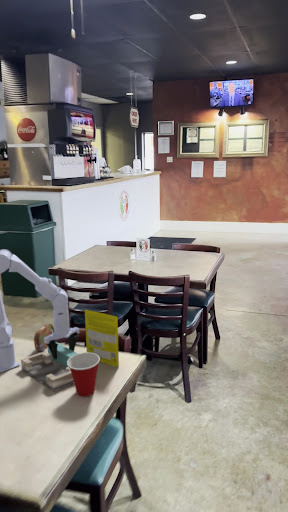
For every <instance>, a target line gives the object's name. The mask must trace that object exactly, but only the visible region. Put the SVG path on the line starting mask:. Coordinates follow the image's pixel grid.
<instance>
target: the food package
mask: <svg viewBox="0 0 288 512" xmlns="http://www.w3.org/2000/svg"><path fill="white" fill-rule="evenodd" d="M84 318H85V320H84V321H85V322H84V323H85V341H86V343H85V344H86V347H85V348H86V353H95V354H97V355H98V356H99V357H100V361H99V363H103V364H107V365H109V366H113V367H117V368H120V364H119V363H120V361H119V358H120V357H119V324H118V322H119V321H118V320H119V318H118V316H115V315H111V314H107V313H104V312H103V313H102V312H98V311H93V310H88V309H84Z"/></svg>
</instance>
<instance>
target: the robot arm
mask: <svg viewBox="0 0 288 512" xmlns="http://www.w3.org/2000/svg"><path fill="white" fill-rule="evenodd" d="M8 269H9V270H8ZM7 270H8V272H9V273H18V274H20V276H22V277H24V278H25V279H27V280H28V281H29V282H31V283H32V284H34V288H35V290H36V292H38V293H39V294H41V295H42V296H43V297H44V298H45V299H46V300H48V301H51V305H52V307H53V310H52V317H53V327H54V333H52V334H51V335H49V336H47V337H45V338H44V342H45V343H46V344H47V346H48V347H49V349H50V351H51V354H52V357H53V358H54V359H57V347H58V344H57V343H58V342H57V341H58V340H60V339H67V341H68V342H67V343H68V349H70V350H72V351H74V352H75V348H76V345H77V342H78V341H79V338H80V328H79V327H77V326H74V327H70V317H69V315H70V314H69V305H68V303H69V299H68V293H67V292H66V291H65V289H62V288H61V287H58V286H57V285H56V284H54V283H53V282H52V279H51V278H47V277H41V276H39V274H37V273H36V272H35V271H33V269H32V268H30V266H28V264H26V263H25V262H24V261H23V260H22V259H20V258H19V257H18V256H17V255H15V254H14V253H12V252H11V251H10V250H9V249H5V248H4V249H0V275H2V273H4V272H6V271H7ZM13 333H14V328H13V326H12V325H11V323H10V322H9V319H8V317H7V314H6V309H5V305H4V300H3V296H2V290H1V289H0V373H2V372H6V371H9V370H12V369H14V368H16V367H19V366H21V365H20V363H19V362H17V361H16V356H15V345H14V344H15V343H14V340H13V338H12V336H13ZM56 342H57V343H56ZM48 347H47V348H48ZM54 359H53V360H54Z"/></svg>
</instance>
